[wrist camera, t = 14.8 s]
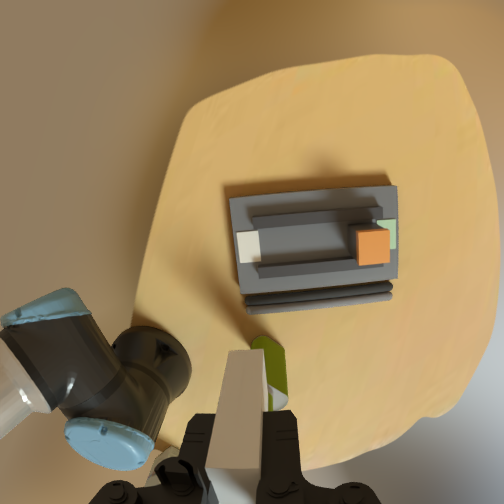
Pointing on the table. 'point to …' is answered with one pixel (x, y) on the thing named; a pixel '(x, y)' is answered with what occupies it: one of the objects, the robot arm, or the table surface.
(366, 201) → the panel
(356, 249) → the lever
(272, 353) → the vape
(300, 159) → the table surface
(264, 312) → the grey twin rods
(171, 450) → the ink box
